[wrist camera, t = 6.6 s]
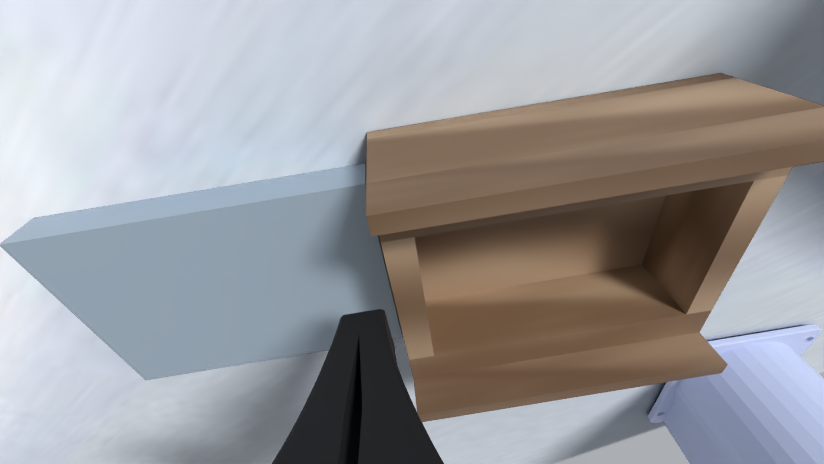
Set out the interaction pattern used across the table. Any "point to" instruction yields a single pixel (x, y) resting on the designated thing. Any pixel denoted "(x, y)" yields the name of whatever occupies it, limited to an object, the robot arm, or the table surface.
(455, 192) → the brown wooden box
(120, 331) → the cover plate
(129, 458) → the table surface
